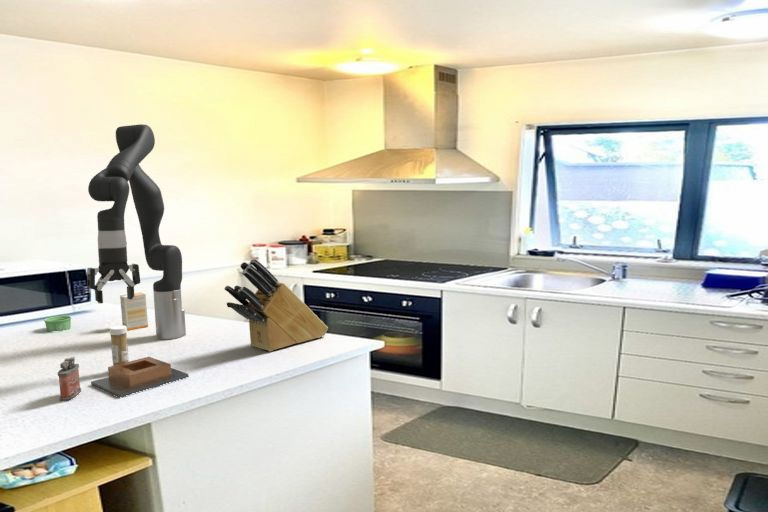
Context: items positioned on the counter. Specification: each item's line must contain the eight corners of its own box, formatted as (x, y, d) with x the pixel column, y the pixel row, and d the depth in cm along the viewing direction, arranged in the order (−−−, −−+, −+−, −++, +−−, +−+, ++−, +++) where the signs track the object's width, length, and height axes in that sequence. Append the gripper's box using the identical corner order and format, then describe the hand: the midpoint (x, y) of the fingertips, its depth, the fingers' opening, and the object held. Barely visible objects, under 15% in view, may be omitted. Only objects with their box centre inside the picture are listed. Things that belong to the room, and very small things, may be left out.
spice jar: (131, 371, 170) (127, 327, 168) (114, 374, 167) (110, 329, 165) (128, 367, 173) (125, 324, 172) (111, 370, 171) (108, 326, 169)
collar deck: (158, 366, 174) (157, 352, 174) (188, 377, 164) (187, 362, 164) (91, 385, 159) (89, 369, 158) (119, 398, 149) (118, 381, 148)
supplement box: (143, 324, 227) (141, 292, 225) (148, 326, 223) (146, 293, 221) (122, 328, 221) (119, 295, 219) (126, 330, 218) (123, 296, 216)
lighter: (71, 390, 155) (68, 354, 153) (84, 390, 155) (81, 354, 154) (56, 402, 147) (53, 364, 145) (70, 401, 147) (67, 363, 146)
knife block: (225, 352, 188) (220, 258, 184) (308, 331, 213) (306, 248, 209) (244, 359, 180) (240, 261, 176) (329, 336, 205) (327, 250, 201)
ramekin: (56, 326, 226) (55, 315, 226) (77, 326, 225) (76, 315, 224) (39, 332, 217) (38, 320, 217) (61, 332, 216) (60, 321, 216)
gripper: (131, 243, 175) (134, 296, 177) (81, 247, 165) (84, 302, 166) (142, 245, 170) (145, 299, 172) (91, 248, 160) (94, 306, 161)
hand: (115, 301), depth 169 cm, fingers open, 8 cm apart
